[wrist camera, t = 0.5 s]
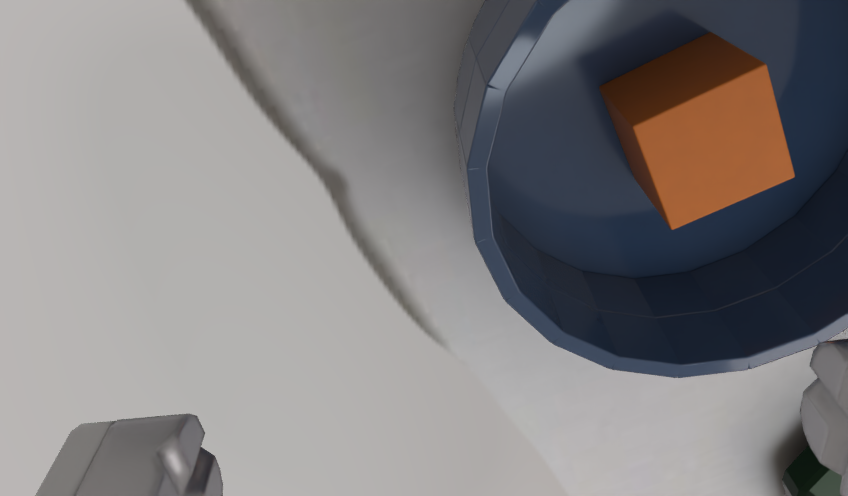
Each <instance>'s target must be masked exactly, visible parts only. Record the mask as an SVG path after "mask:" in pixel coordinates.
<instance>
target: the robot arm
mask: <svg viewBox="0 0 848 496" xmlns="http://www.w3.org/2000/svg"><path fill="white" fill-rule="evenodd" d="M810 367H811V368H812V370H813V371H814V372H815V374H816V375H817V376H818V378H817V379H816V380H815V381H814V382H813V383H812V384H811V385H810V386H809V387H808V388H807V389H806V390H805V391H804V392H803V398H802V403H801V409H800V412H801V419H802V425H803V431H804V434H805V436H806V438H807V441H808V443H809V446H810V448H811V449H812V451H813V452H814V454H815V456H816V457H817V459H818V460H819V462H820V463H821V464H822V465H824V466H826V467H827V468H829V469H831V470H832V471H834V472H836V473H838V474H839V475H841V476H842V481H841V487H840V494H841V495H842V496H848V339H842V340H834V341H825V342H820V343H819V344H818V346H817V347H816V348H815V349H814V351H813V354H812V358H811V362H810ZM204 435H205V432H204V430H203V428H202V426H201V424H200V422H199V419H198V417H197V416H195V415H192V414H179V415H167V416H156V417H145V418H134V419H122V420H117V421H110V422H97V423H85V424H81V425H79V426H78V427H77V428H75V429H74V430H72V431H71V433H70V434H69V436H68V438H67V440H66V442H65V443H64V445H63V447H62V449H61V450H60V452H59V454H58V456H57V458H56V459H55V461H54V463H53V465H52V467H51V468H50V470H49V472H48V474H47V475H46V477H45V479H44V481H43V483H42V484H41V486H40V488H39V490H38V492H37V493H36V495H35V496H223V483H222V478H221V472H220V468H219V465H218V463H217V460H216V458H215V456H214V455H212V454H211V453H209V452H208V451H206V450H205V449H203V448H202V447H201V444H202V441H203V438H204Z"/></svg>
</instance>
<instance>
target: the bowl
mask: <svg viewBox="0 0 848 496" xmlns="http://www.w3.org/2000/svg"><path fill="white" fill-rule="evenodd" d="M709 32H712V33H714V34H715V35H717V36H719V37H721V38H722V39H724V40H726V41H727V42H729V43H731V44H733V45H734V46H736V47H738V48H740V49H741V50H743V51H745V52H746V53H748V54H750V55H752V56H753V57H755V58H757V59H758V60H760V61H762V62H764V63H765V64H766V65H767V68H768V72H769V76H770V80H771V84H772V88H773V92H774V96H775V100H776V103H777V107H778V111H779V115H780V119H781V123H782V127H783V131H784V135H785V138H786V142H787V146H788V150H789V154H790V158H791V162H792V166H793V170H794V174H795V177H794V178H792V179H790V180H787V181H785V182H783V183H780V184H778V185H776V186H774V187H771V188H769V189H767V190H764V191H762V192H760V193H757V194H755V195H753V196H750V197H748V198H746V199H743V200H741V201H739V202H736V203H734V204H732V205H730V206H727V207H725V208H723V209H720V210H718V211H716V212H713V213H711V214H709V215H706V216H704V217H702V218H699V219H697V220H695V221H692V222H690V223H688V224H686V225H683V226H681V227H679V228H676V229H674V230H671V229H670V227H669V226H668V225H667V223H666V222H665V220H664V219H663V218H662V216H661V215H660V213H659V212H658V211H657V209H656V208H655V206H654V205H653V204H652V202H651V201H650V199H649V198H648V197H647V195H646V194H645V192H644V191H643V190H642V188H641V187H640V186H639V184H638V183H637V181H636V180H635V178H634V176H633V173H632V171H631V168H630V166H629V163H628V161H627V158H626V156H625V153H624V150H623V148H622V145H621V143H620V140H619V138H618V135H617V133H616V130H615V128H614V125H613V122H612V120H611V117H610V115H609V112H608V110H607V107H606V105H605V102H604V100H603V97H602V94H601V92H600V89H599V87H600V86H601V85H603V84H605V83H607V82H609V81H611V80H613V79H615V78H617V77H620V76H622V75H624V74H626V73H628V72H630V71H632V70H634V69H636V68H638V67H640V66H642V65H644V64H646V63H648V62H650V61H652V60H654V59H656V58H658V57H660V56H662V55H664V54H666V53H669V52H671V51H673V50H675V49H677V48H679V47H681V46H683V45H685V44H687V43H689V42H691V41H693V40H695V39H697V38H699V37H701V36H703V35H705V34H707V33H709ZM454 116H455V125H456V136H457V143H458V152H459V161H460V169H461V174H462V180H463V185H464V190H465V195H466V201H467V206H468V211H469V216H470V222H471V227H472V232H473V237H474V240H475V244H476V246H477V248H478V250H479V252H480V254H481V256H482V258H483V260H484V262H485V264H486V266H487V267H488V269H489V271H490V273H491V275H492V277H493V279H494V281H495V283H496V285H497V287H498V289H499V291H500V293H501V295H502V297H503V299H504V300H505V301H506V302H507V303H508V304H509V305H510V306H511V307H512V308H513V309H514V310H515V311H516V312H518V313H519V314H520V315H521V316H522V317H523V318H524V319H525V320H526V321H527V322H528V323H530V324H531V325H532V326H533V327H534V328H535V329H536V330H537V331H538V332H539V333H541V334H542V335H543V336H544V337H545V338H546V339H547V340H548V341H549V342H551V343H553V344H554V345H556V346H558V347H560V348H563V349H565V350H567V351H570V352H572V353H574V354H577V355H579V356H581V357H583V358H586V359H588V360H590V361H593V362H595V363H597V364H599V365H602V366H604V367H606V368H609V369H612V370H619V371H627V372H634V373H642V374H650V375H658V376H666V377H673V378H677V377H678V378H683V377H692V376H700V375H709V374H717V373H726V372H734V371H743V370H748V369H752V368H754V367H757V366H760V365H763V364H766V363H769V362H772V361H774V360H777V359H780V358H783V357H786V356H789V355H791V354H794V353H797V352H800V351H803V350H806V349H809V348H811V347H814V346H817V345H818V344H819V343H820V342H825V341H827V340H829V339H830V338H832V337H834V336H835V335H837V334H839V333H840V332H842V331H844V330H845V329H847V328H848V0H485V2H484V4H483V6H482V8H481V10H480V12H479V13H478V15H477V17H476V19H475V21H474V24H473V26H472V29H471V32H470V34H469V37H468V40H467V43H466V46H465V48H464V51H463V56H462V60H461V65H460V69H459V73H458V78H457V87H456V96H455V101H454Z"/></svg>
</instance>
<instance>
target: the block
mask: <svg viewBox="0 0 848 496" xmlns="http://www.w3.org/2000/svg"><path fill="white" fill-rule="evenodd" d="M599 89H600V92H601V94H602V97H603V100H604V102H605V105H606V107H607V110H608V112H609V115H610V117H611V120H612V122H613V125H614V128H615V130H616V133H617V135H618V138H619V140H620V143H621V145H622V148H623V150H624V153H625V156H626V158H627V161H628V163H629V166H630V168H631V171H632V173H633V176H634V178H635V180H636V181H637V183H638V184H639V186H640V187H641V188H642V190H643V191H644V192H645V194H646V195H647V197H648V198H649V199H650V201H651V202H652V204H653V205H654V206H655V208H656V209H657V211H658V212H659V213H660V215H661V216H662V218H663V219H664V220H665V222H666V223H667V225H668V226H669V227H670V229H671V230H674V229H676V228H679V227H681V226H683V225H686V224H688V223H690V222H692V221H695V220H697V219H699V218H702V217H704V216H706V215H709V214H711V213H713V212H716V211H718V210H720V209H723V208H725V207H727V206H730V205H732V204H734V203H736V202H739V201H741V200H743V199H746V198H748V197H750V196H753V195H755V194H757V193H760V192H762V191H764V190H767V189H769V188H771V187H774V186H776V185H778V184H780V183H783V182H785V181H787V180H790V179H792V178H794V177H795V174H794V170H793V166H792V162H791V158H790V154H789V150H788V146H787V142H786V138H785V135H784V131H783V127H782V123H781V119H780V115H779V111H778V107H777V103H776V100H775V96H774V92H773V88H772V84H771V80H770V76H769V72H768V68H767V65H766V64H765V63H764V62H762V61H760V60H758V59H757V58H755V57H753V56H752V55H750V54H748V53H746V52H745V51H743V50H741V49H740V48H738V47H736V46H734V45H733V44H731V43H729V42H727V41H726V40H724V39H722V38H721V37H719V36H717V35H715V34H714V33H712V32H709V33H707V34H705V35H703V36H701V37H699V38H697V39H695V40H693V41H691V42H689V43H687V44H685V45H683V46H681V47H679V48H677V49H675V50H673V51H671V52H669V53H666V54H664V55H662V56H660V57H658V58H656V59H654V60H652V61H650V62H648V63H646V64H644V65H642V66H640V67H638V68H636V69H634V70H632V71H630V72H628V73H626V74H624V75H622V76H620V77H617V78H615V79H613V80H611V81H609V82H607V83H605V84H603V85H601V86H600V87H599Z"/></svg>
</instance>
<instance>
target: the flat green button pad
mask: <svg viewBox="0 0 848 496" xmlns="http://www.w3.org/2000/svg"><path fill="white" fill-rule="evenodd" d="M782 481H783V486H784V490H785V494H786V496H842V495H841V494H840V487H841V481H842V476H841V475H839V474H838V473H836V472H834V471H832V470H831V469H829V468H827V467H826V466H824V465H822V464H821V463H820V462H819V460H818V459H817V457H816V456H815V454H814V452H813V451H812V449H811V448H810V446H809V445H808V446H807V447H806V448H805V450H804V451H803V452H802V453H801V454H800V455H799V456H798V457H797V458H796V459H795V460H794V461H793V462H792V464H791V465H790V466H789V467H788V468H787V469H786V471H785V473H784V476H783V479H782Z"/></svg>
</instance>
